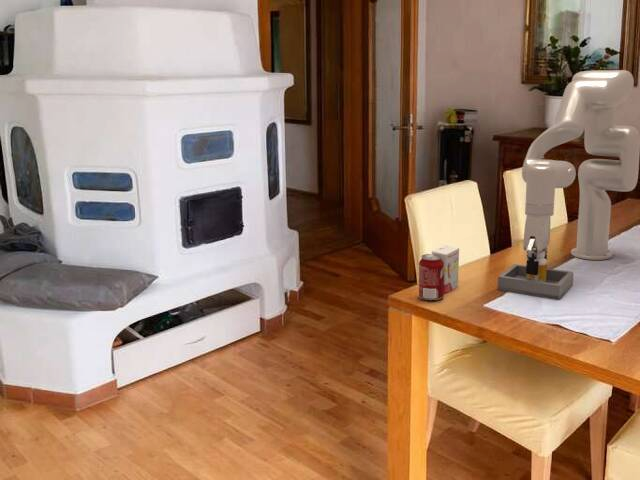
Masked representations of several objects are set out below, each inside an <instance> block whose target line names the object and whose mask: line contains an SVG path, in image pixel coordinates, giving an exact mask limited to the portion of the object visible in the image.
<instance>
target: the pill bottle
mask: <svg viewBox="0 0 640 480" xmlns="http://www.w3.org/2000/svg"><path fill="white" fill-rule="evenodd" d="M533 253H534V252H533ZM534 255H536V253H534ZM544 257H545V251H543V250H541V251H540V252H539V255H538V261H539V268H538V275H531V274H526V280H533V281H540V282H546V273H547V268H548V261H547V260H546V259H545V258H544Z"/></svg>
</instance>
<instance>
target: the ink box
mask: <svg viewBox="0 0 640 480" xmlns="http://www.w3.org/2000/svg"><path fill="white" fill-rule="evenodd" d="M431 254H438V255H441V256H442V260H443V262H444V295H447V294H448V293H450V292H451V291H452V290H454V289H456V288H457V287H459V271H460V270H459V268H460V267H459V266H460V264H459V262H460V248H459V247H456V246H451V245H446V244H445V245H442V246H440V247H437V248H436V249H435V248H434V249H433V250H431Z"/></svg>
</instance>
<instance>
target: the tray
mask: <svg viewBox="0 0 640 480" xmlns="http://www.w3.org/2000/svg"><path fill="white" fill-rule="evenodd" d="M526 265H527V264H526ZM526 265H525V264H517V263H514V264H512V265H511V266H510V267H509V268H507V269H506V270H505V271H503V272H502V273H501V274H499V275H498V277H497V290H498V291H501V292H507V293H513V294H521V295H525V296H526V295H527V296H532V297H537V298H544V299H551V300H558V301H560V300H561V299H562V298H563V297H564V295H565V294H566V293H568V291H569V290H570V289H571V287H573V285H574V283H573V282H574V271H570V270H569V271H567V270H562V269H554V268H548V267H547V273H546V282H540V281H533V280H526V274H527V273H526Z"/></svg>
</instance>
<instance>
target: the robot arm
mask: <svg viewBox="0 0 640 480" xmlns="http://www.w3.org/2000/svg"><path fill="white" fill-rule="evenodd" d="M634 83H635V81H634V77H633V74H632V73H631V72H630V71H628V70H625V69H621V70H620V69H614V70H612V69H610V70H605V69H603V70H598V69H597V70H593V69H592V70H584V71H578V72H577V73H575V74H574V75H573V76H572V79H571V82H569V83H568V84H567V85H566V87H565V89H564V92H563V95H562V98H561V101H560V103H559V107H558V110H557V112H556V115H555V117H554V122H553V124H552V125H551V126H550V127H548V128H547V129H546V130H544V131H543V132H542V133H541V134H540V135H539V136H537V137H536V138H535V139H534V140H533V142H531V144H530V146H529V148H528V150H527V153H526V155H525V158H524V160H523V165H522V170H521V178H522V181H524V183H526V185H525V188H526V189H525V205H524V206H525V207H524V214H525V216H526V218H525V222H524V223H525V224H524V233H523V243H522V249H523V250H524V251H526V273H527V274H531V275H538V268H539V261H538V255H539V252H540V251H541V250H543V251H545V257H544V258H545V259H546V260H547V259H548V246H549V244H550V240H551V217H552V216H554V212H555V211H554V210H555V209H554V208H555V195H556V194H555V193H556V189H565V188H568V187H569V186H571V185H572V184H573V183H574V181H575V179H576V175H577V177H578V178H577V179H578V185H579V203H578V204H579V206H578V217H577V219H578V220H577V235H576V247H574V248H572V249H571V250H570V254H571V255H572V256H573V257H576V258H578V259H582V260H583V259H584V260H590V261H591V260H594V261H601V260H608V259H611V258H612V257H613V252H612V250H610V249H609V235H610V225H611V224H610V223H611V213H612V211H611V210H612V201H611V198H610V196H609V195H608V193H607V192H606V191H614V192H631V191H633V190H634V189H635V188H636V186H637V183H638V179H639V170H640V168H639V167H640V133H639V130H638V129H637V128H636V127H634V126H632V125H620V124H619V125H617V124H616V119H615V118H616V117H615V115H616V109H615V108H616V107H617V106H618V105H620V104H622V103H623V102H624V101H626V100H627V99H628V98H629V97H630V95H631V94H632V93H633V92H632V91H633V89H634ZM583 134H584V141H583V142H584V149H585V152H586V153H588V154H589V155H593V156H603V157H618V158H619V160H618V159H617V160H616V159H615V160H614V159H607V158H605V159H603V158H590V159H589V158H588V159H587V160H584V161H582V163H581V164H580V165H579V166H578V172H577V171H576V167H575V166H574V164H572V163H571V162H569V161H566V160H556V159H555V160H553V159H542V158H543V157H544V156H545V154H546V153H547V152H549V150H551V149H553V148H555V147H558V146H560V145H562V144H565V143H567V142H571V141H573V140H575V139H579V137H581V136H582V135H583ZM576 173H577V174H576ZM533 252H534V253H536V255H534V253H533Z"/></svg>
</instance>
